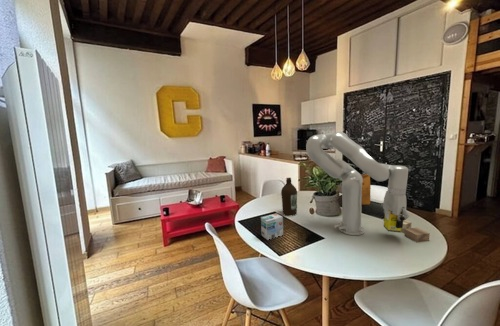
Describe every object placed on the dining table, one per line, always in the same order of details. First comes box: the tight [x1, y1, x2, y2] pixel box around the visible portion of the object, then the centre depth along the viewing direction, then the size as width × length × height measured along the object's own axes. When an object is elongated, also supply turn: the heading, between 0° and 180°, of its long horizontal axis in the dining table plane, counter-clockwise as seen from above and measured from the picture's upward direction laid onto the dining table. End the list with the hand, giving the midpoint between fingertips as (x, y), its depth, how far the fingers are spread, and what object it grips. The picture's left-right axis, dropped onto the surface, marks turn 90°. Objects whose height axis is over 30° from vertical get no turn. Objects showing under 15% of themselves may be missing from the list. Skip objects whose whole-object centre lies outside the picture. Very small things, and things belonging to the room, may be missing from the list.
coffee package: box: [361, 173, 372, 206], centre depth 165 cm, size 10×12×22 cm
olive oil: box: [280, 177, 298, 216], centre depth 152 cm, size 11×11×25 cm
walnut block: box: [404, 227, 431, 243], centre depth 111 cm, size 7×7×4 cm
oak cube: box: [400, 219, 412, 234], centre depth 120 cm, size 5×5×5 cm
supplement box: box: [383, 209, 402, 233], centre depth 113 cm, size 6×6×11 cm
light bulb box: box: [260, 213, 284, 241], centre depth 122 cm, size 11×7×11 cm, turn 117°
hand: (392, 223), depth 113 cm, fingers closed on supplement box, 7 cm apart
